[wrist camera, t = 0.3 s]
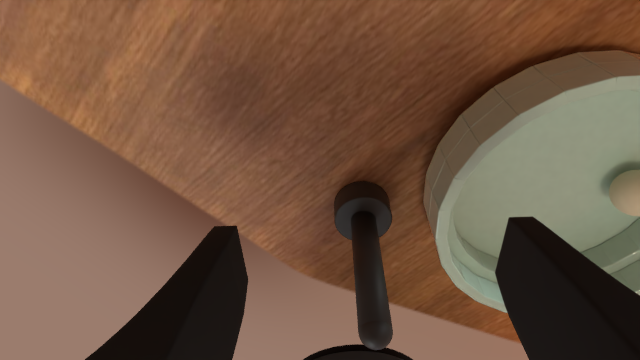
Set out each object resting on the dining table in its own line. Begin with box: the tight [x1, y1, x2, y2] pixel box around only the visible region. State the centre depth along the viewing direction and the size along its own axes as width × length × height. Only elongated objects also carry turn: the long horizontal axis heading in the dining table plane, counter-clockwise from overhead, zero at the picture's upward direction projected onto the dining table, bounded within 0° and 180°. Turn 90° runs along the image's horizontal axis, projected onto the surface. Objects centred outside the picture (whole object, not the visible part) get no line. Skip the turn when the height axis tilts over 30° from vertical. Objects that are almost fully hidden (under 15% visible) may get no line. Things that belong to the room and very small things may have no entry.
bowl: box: [423, 50, 640, 313], centre depth 21 cm, size 14×14×4 cm
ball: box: [609, 170, 640, 216], centre depth 21 cm, size 2×2×2 cm
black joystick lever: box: [334, 182, 393, 350], centre depth 20 cm, size 3×3×10 cm
